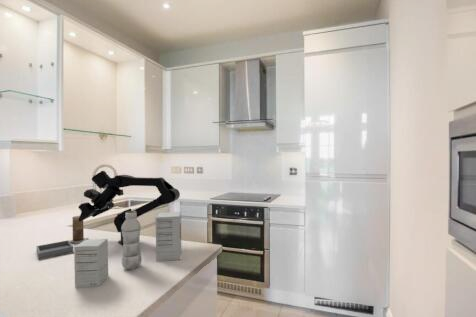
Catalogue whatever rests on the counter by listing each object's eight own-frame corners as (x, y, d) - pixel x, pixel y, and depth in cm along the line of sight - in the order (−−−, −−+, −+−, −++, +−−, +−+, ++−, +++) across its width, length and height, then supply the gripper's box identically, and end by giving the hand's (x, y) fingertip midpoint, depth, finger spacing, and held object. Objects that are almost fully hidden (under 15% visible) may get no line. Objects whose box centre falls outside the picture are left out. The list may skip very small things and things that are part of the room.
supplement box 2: (180, 260, 99) (179, 216, 99) (155, 261, 97) (155, 217, 97) (181, 251, 108) (181, 211, 108) (159, 252, 107) (158, 212, 107)
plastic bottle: (134, 272, 88) (134, 214, 88) (117, 270, 90) (116, 213, 90) (145, 264, 95) (144, 210, 95) (128, 263, 96) (128, 210, 96)
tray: (73, 252, 109) (73, 246, 109) (38, 259, 101) (38, 253, 101) (68, 245, 117) (68, 240, 117) (36, 251, 110) (36, 246, 110)
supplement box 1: (86, 276, 85) (85, 239, 85) (109, 275, 86) (108, 238, 86) (73, 287, 78) (73, 246, 78) (99, 286, 79) (98, 245, 79)
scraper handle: (88, 240, 125) (88, 215, 125) (79, 244, 119) (79, 218, 119) (77, 239, 126) (76, 215, 126) (67, 243, 120) (67, 218, 120)
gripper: (108, 181, 131) (88, 203, 132) (82, 185, 112) (59, 210, 113) (123, 197, 130) (102, 218, 131) (99, 203, 111) (76, 228, 113)
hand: (86, 218), depth 122 cm, fingers open, 9 cm apart
